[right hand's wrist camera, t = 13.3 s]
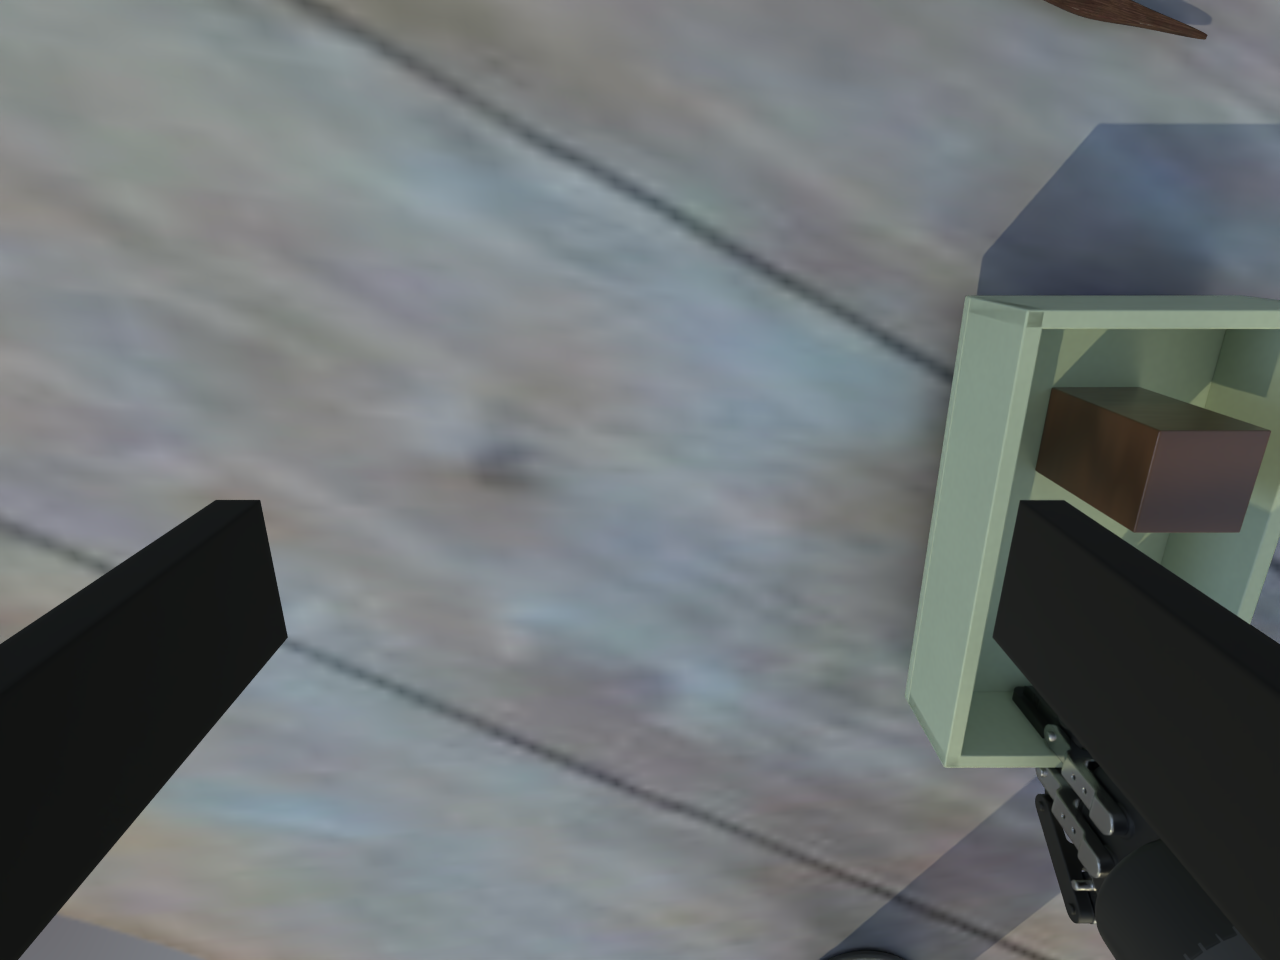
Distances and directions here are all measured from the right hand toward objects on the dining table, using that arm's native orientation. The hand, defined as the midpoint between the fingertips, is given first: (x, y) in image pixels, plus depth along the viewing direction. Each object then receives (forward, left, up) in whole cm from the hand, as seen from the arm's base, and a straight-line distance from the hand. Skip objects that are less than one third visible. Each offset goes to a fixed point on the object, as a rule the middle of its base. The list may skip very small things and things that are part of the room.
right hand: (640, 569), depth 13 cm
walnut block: (+4, +23, -24) cm, 34 cm away
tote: (+9, +23, -25) cm, 35 cm away
